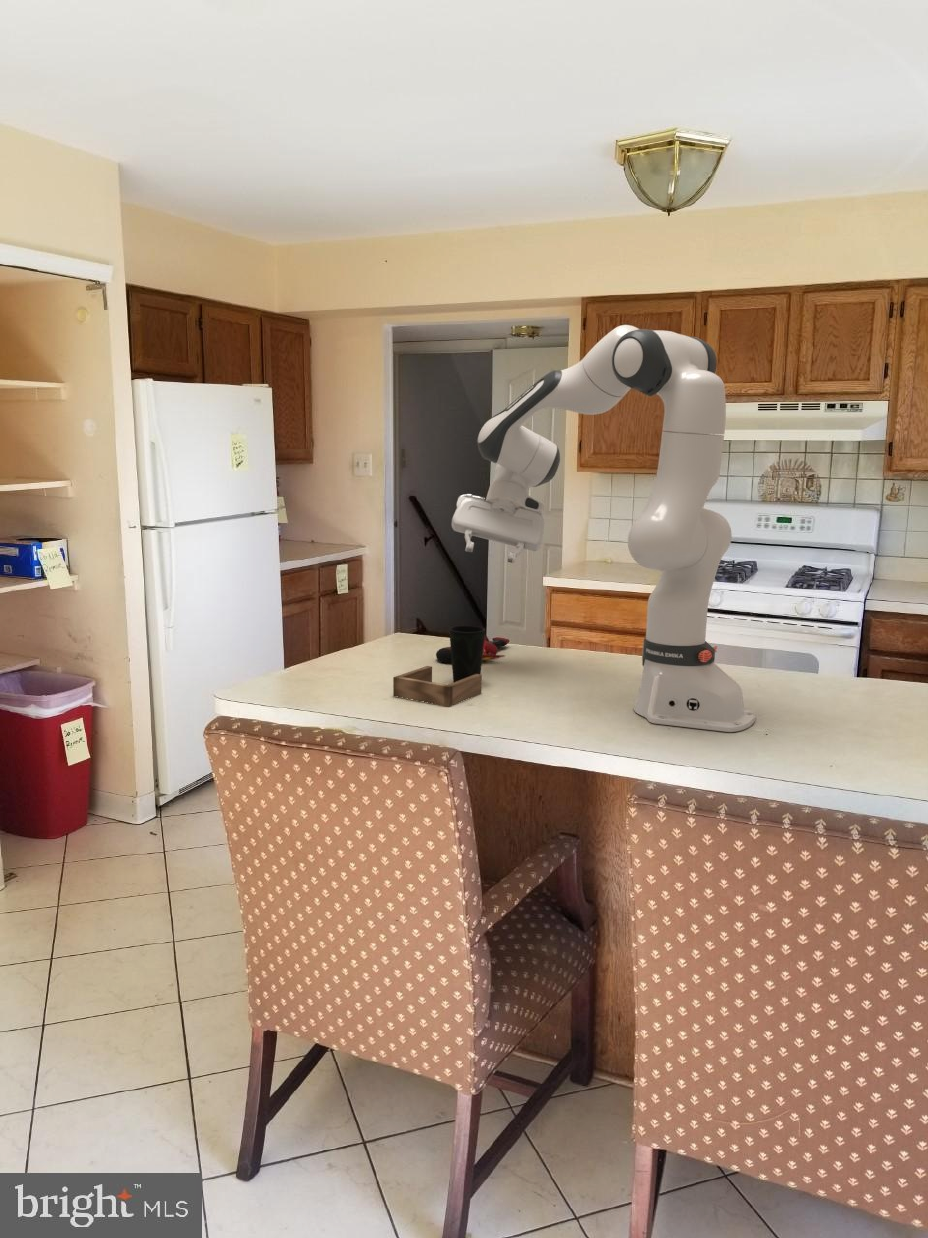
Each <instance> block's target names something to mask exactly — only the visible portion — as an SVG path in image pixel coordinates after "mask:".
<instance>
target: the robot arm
mask: <svg viewBox="0 0 928 1238" xmlns="http://www.w3.org/2000/svg"><path fill="white" fill-rule="evenodd" d="M717 361H718V360H717V355H716V352H715V351H714V348H713V347H712V346H711V344H709V343H708V342H706V341H705V340H703V339H700V338H698V337H696V336H688V335H684V334H682V333H677V332H674V331H670V330H662V329H660V330H654V329H653V330H652V329H649V328H638V327H636V326H634V325H631V324H630V325H629V324H623V325H619V326H616V327H615V328H613V329H612V330H611V331H609V332H607V334H605V335H604V336H603V337H602V338H601V339H600V340H599V341H598V342H597V343H596V344H595V345H594V346H593V347H592V348H591V349H590V350H589V351H588V352H587V353H586V355H585V356H584V357H583V358H582V359H581V360H579V362H576V363H575V364H574V365H572V366H569V367H568V368H564V369H561V370H551V371H550V372H548V373H547V374H545V375H544V376H543V377H541V378H539V379H538V381H536V382H535V383H533V384H532V385H531V386H529V388H528V389H526V390H525V391H524V392H523V393H522V394H521V395H519V396H518V397H517V398H516V399H515V400H514V401H513V402H511V403H510V404H509V405H507V407H505V408H504V409H503V410H501V411H500V412H497V414H495V415H493V416H492V417H490V418H489V419H488V420H487V421H486V422H485V423H484V425H483V426H482V427H481V428H480V429H481V430H480V431H479V433H478V435H477V438H476V439H477V440H476V443H477V447H478V450H479V454H480V455H481V457H482V459H484V460H487V461H489V462H491V463H493V464H496V465H495V469H494V473H493V476H494V478H493V480H492V482H491V483H490V485H489V488H488V491H487V495H486V497H484V496H479V495H473V494H471V493H466V494H462V495H459V496H458V497H457V501H456V505H455V506H456V509H455V512H454V513H453V516H452V518H451V528H452V530H453V531H454V532H457V533H461V534H464V539H465V543H466V546H465V549H464V551H465V552H468V553H473V551H474V546H475V542H474V541H471V539H472V537H477V538H481V539H485V540H488V541H492V542H496V543H500V544H503V545H508V546H511V547H516V549H515V550H514V551H513V552H512V551H509V553H508V557H507V563H511V564H514V563H515V561H516V558H517V557H518V556H519V555H521V554H522V553H523V551H524V550H528V551H531V552H538V551H539V550H540V549H541V547H542V542H543V538H544V530H545V519H544V514H545V506H544V504H543V503H542V502H540V501H538V500H537V499H535V498H533V497H531V496H530V495H529V490H530V488H536V487H539V486H542V485H544V484H546V483H549V482H550V481H551V480H553V479H554V477H555V475H556V473H557V472H558V468H559V466H560V462H561V454H560V449H559V447H558V445H557V444H555V443H554V442H553V441H551V440H550V439H548V438H546V437H544V436H542V435H541V434H539V433H536V432H534V431H533V430H531V429H529V428H527V427H525V426H524V424H526V423H527V422H528V421H529V420H531V419H532V418H533V417H534V416H535V415H536V414H538V413H539V412H541V411H543V410H548V409H555V410H556V409H557V410H563V411H568V412H569V411H570V412H573V413H577V414H582V415H588V416H591V415H594V416H595V415H599V414H600V415H601V414H603V413H606V412H608V411H610V410H611V409H612V408H614V407H615V406H616V405H618V403H619V402H620V401H621V400H622V399H623V398H624V397H625V396H626V394H627V393H628V392H630V390H631V389H633V390H635V391H637V392H640V393H642V394H644V395H646V396H648V397H653V396H655V395H657V396H658V397H660V399H661V400H662V403H663V406H664V415H663V423H662V431H661V440H660V447H659V448H660V449H659V456H658V463H657V471H656V476H655V479H654V483H653V486H652V488H651V492H650V493H649V496H648V499H647V502H646V505H645V507H644V510H643V511H642V513H641V515H640V516H639V517H638V519H637V520H636V521H635V522H634V523H633V524H632V526H631V527H630V529H629V532H628V535H627V547H628V551H629V554H630V556H631V558H632V559H633V560H634V561H635V562H636V564H639V565H640V566H641V567H644V568H647V569H650V570H653V571H654V570H656V571H659V572H661V573H660V576H659V579H658V581H657V582H656V583H657V584H656V585H655V587H654V589H653V590H652V591H651V593H650V595H649V597H648V599H647V607H646V608H647V611H646V612H647V613H646V629H645V632H646V633H645V637H644V639H643V644H642V648H641V649H642V651H641V658H642V659H641V661H642V664H641V665H642V667H643V669H642V675H641V682H640V686H639V690H638V694H637V698H636V700H635V703H634V706H633V711H634V712H635V714H636V713H637V714H638V715H640V716H642V717H644V718H645V719H647V721H648V722H649V723H651V724H655V725H656V724H657V725H663V726H664V725H666V726H673V727H681V728H682V727H683V728H690V729H691V728H692V729H699V730H700V729H701V730H709V731H717V732H725V733H734V732H740V731H743V730H746V729H748V728H750V727H751V726H752V725H753V724H754V723H755V721H756V714H755V711H753V710H751V709H747V708H744V707H745V704H744V695H743V692H742V688H741V686H740V684H739V683H738V682H737V681H736V680H734V679H733V678H732V677H731V676H729V675H728V674H727V673H726V672H725V671H724V670H723V669H722V668H721V667H719V666H718V664H716V662H715V659H716V653H717V652H718V651H717V649H718V647H717V646H716V645H714V646H712V645H711V644H709V642H708V641H707V640H706V634H707V633H706V632H707V622H708V621H707V620H708V608H709V603H710V597H711V592H712V589H713V585H714V581H715V578H716V575H717V572H718V569H719V566H720V563H721V560H722V559H723V556H724V555H725V553H726V552H727V551H728V550H729V548H730V546H731V543H732V535H733V533H732V529H731V528H732V527H731V526H730V523H729V522H728V520H727V519H726V518H725V516H723V515H722V514H720V513H718V512H716V511H714V510H711V509H708V508H704V506H705V503H706V501H707V498H708V496H709V494H710V492H711V490H712V489H713V488H714V486H715V485H716V483H717V482H718V480H719V478H720V473H721V464H722V463H721V462H722V458H723V457H722V456H723V447H724V439H725V433H726V432H725V430H726V429H725V428H726V419H727V418H726V416H727V404H726V403H727V400H726V389H725V383H724V381H723V380H722V378H721V377H720V376H719V375H718V374H716V372H717V368H718V367H717V365H718V364H717V363H718V362H717Z"/></svg>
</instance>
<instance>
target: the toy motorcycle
mask: <svg viewBox="0 0 928 1238" xmlns="http://www.w3.org/2000/svg"><path fill="white" fill-rule="evenodd" d="M489 639H490V638H488V636H487V635H486V634H485V639H484V648H483V657H482V661H486V660H491V659H499V658H503V657H505V655H503V654H502V655H501V654H497V653H498V648H502V647H505V645H506V646H507V645H508V644H509V643H510V639H509V638H504V637H496V636H495V637H493V638H492V640H489ZM435 658H436V659H437V660H438V661H439V662H440V663H443V662H444V663H443V664H449V663H452V658H451V646H446V647H442V648H440V649H438V650H437V651H436V653H435Z"/></svg>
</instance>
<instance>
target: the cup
mask: <svg viewBox="0 0 928 1238" xmlns="http://www.w3.org/2000/svg"><path fill="white" fill-rule="evenodd" d="M448 631H449V642H450V647H451V658H452V664H451V669H452V679H453V682H452V683H454V682H456V681H459V680H462V679H464V678H467V677H469V676H472V675H475V674H481V675H482V666H483V665H482V664H483V660H482V657H483V648H484V639H485V635H486V628H484V627H483V626H479V625H466V624H465V625H454V626H450V627H449V629H448Z"/></svg>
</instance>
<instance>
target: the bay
mask: <svg viewBox="0 0 928 1238" xmlns="http://www.w3.org/2000/svg"><path fill="white" fill-rule="evenodd" d="M482 675H483V674H482V673H481V674H475V675H472V676H469V677H467V678H464V679H462V680H459V681H456V682H454V683H453V682H452V683H449V684H445V683H439V682H438V683H437V682H433V666H432V665H426V666H423V667H420V668H417V669H414V670H410V671H408V672H405V673H402V674H398V675H396V676H393V680H392V681H393V682H392V683H393V684H392V686H393V687H392V688H393V691H392V692H393V696H398V697H397V698H399V697H403V698H402V699H404V698H408V699H407V700H409V699H413V700H412V701H415V700H418V701H417V702H420V701H424V702H423V703H425V702H428V703H427V704H431V703H433V704H432V705H436V704H438V705H437V706H441V705H442V706H443V707H448V708H451V707H453V706H454V705H457V704H459V702H460V703H462V702H464V701H463V700H465V701H467V700H469V699H471V697H472V698H474V697H476V695H477V696H478V694H479V695H480V693H481V694H482V685H483V684H482ZM393 696H392V697H393ZM473 696H474V697H473ZM468 698H469V699H468ZM466 699H467V700H466ZM461 701H462V702H461ZM452 705H453V706H452Z"/></svg>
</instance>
